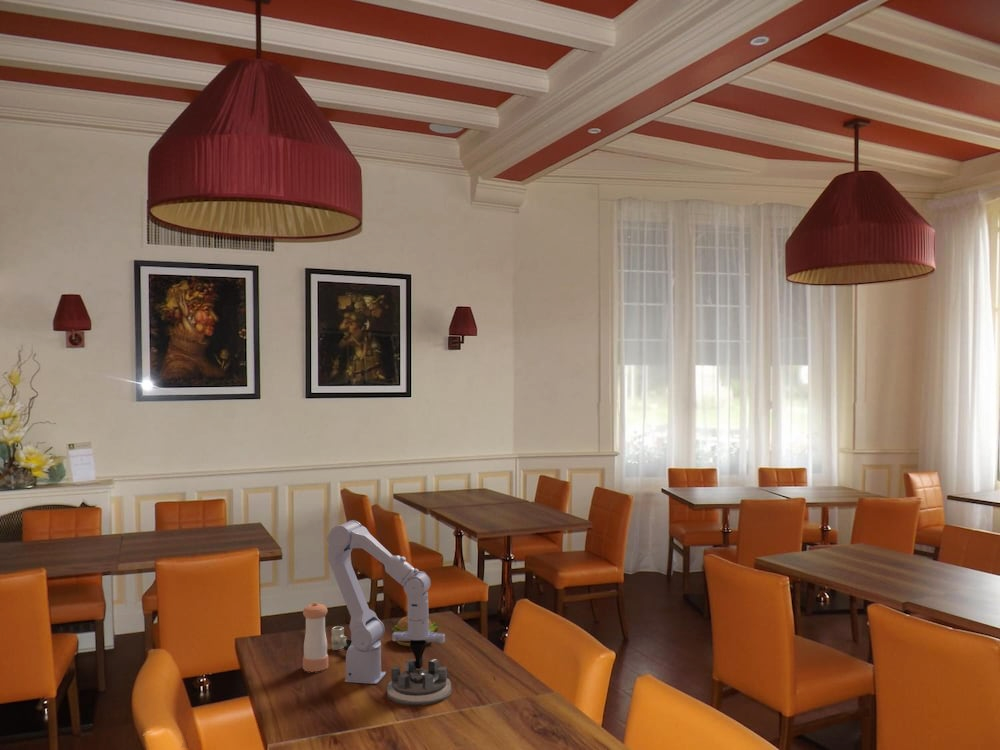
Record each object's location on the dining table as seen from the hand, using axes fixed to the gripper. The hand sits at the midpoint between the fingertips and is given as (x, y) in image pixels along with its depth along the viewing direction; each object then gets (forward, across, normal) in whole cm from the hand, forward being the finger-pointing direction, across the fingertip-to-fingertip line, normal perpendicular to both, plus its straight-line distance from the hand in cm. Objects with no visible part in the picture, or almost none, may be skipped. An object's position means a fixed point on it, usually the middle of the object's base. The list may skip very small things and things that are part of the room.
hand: (419, 667), depth 211 cm
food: (+4, +11, -33) cm, 35 cm away
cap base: (+4, -2, +6) cm, 7 cm away
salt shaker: (+4, +33, -6) cm, 34 cm away
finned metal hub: (+2, -2, +6) cm, 6 cm away
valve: (+4, +30, -20) cm, 37 cm away
